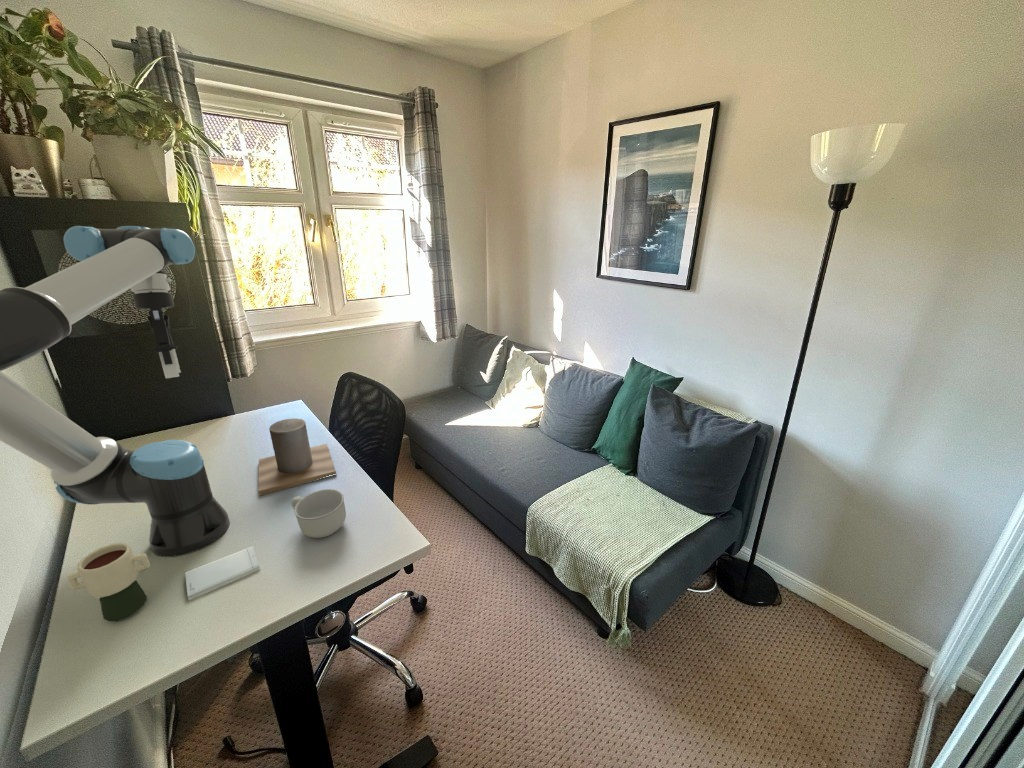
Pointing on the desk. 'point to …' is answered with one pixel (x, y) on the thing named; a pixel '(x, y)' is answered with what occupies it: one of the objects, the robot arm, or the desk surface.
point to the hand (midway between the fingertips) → (173, 375)
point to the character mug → (112, 580)
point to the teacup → (320, 512)
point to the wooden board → (278, 481)
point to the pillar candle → (291, 445)
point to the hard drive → (220, 572)
